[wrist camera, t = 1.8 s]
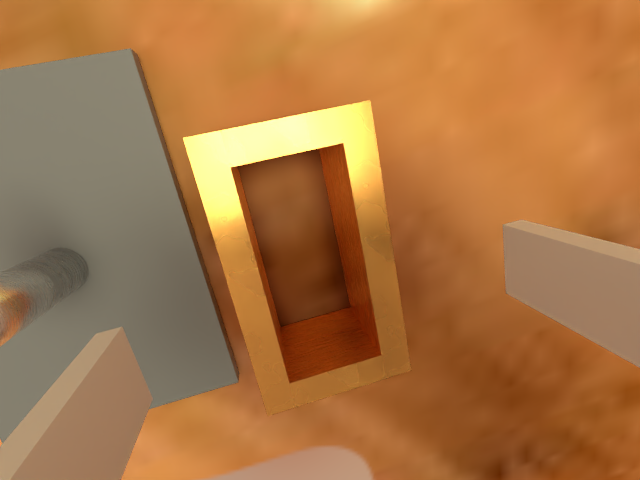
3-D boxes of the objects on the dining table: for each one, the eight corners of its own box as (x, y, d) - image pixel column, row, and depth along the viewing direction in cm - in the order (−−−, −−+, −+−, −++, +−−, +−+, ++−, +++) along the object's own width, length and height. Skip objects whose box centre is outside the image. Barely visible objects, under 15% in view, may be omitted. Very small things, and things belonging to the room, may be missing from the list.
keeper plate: (238, 372, 23) (238, 382, 22) (18, 438, 21) (7, 451, 20) (137, 54, 18) (130, 48, 17) (-171, 105, 16) (-198, 102, 15)
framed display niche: (373, 319, 24) (411, 370, 18) (264, 352, 23) (267, 416, 17) (337, 116, 20) (370, 100, 15) (203, 143, 19) (183, 138, 14)
